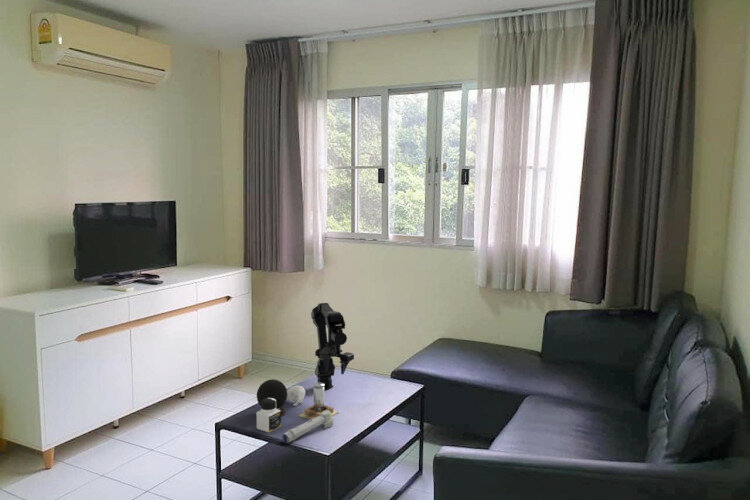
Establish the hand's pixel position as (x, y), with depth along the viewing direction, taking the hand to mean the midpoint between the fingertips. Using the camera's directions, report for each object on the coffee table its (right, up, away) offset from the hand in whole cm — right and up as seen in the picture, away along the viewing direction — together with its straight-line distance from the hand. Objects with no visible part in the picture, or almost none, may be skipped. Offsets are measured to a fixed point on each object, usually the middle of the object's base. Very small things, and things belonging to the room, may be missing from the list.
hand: (334, 372), depth 251 cm
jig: (-6, -15, -16) cm, 23 cm away
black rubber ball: (-26, -15, -15) cm, 33 cm away
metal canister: (-6, -14, -16) cm, 22 cm away
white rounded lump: (-19, -14, -3) cm, 24 cm away
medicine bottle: (-25, -16, -29) cm, 42 cm away
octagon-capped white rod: (-8, -17, -34) cm, 39 cm away
